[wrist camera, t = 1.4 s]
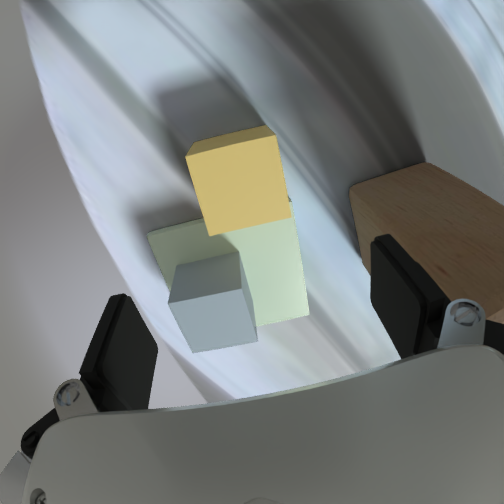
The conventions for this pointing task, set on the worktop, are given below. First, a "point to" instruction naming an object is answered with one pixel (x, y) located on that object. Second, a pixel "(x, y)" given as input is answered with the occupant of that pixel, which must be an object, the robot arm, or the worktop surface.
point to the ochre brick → (239, 180)
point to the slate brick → (213, 303)
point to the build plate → (244, 261)
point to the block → (437, 230)
